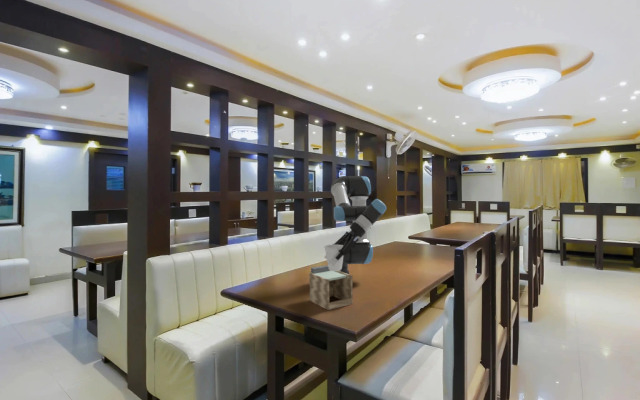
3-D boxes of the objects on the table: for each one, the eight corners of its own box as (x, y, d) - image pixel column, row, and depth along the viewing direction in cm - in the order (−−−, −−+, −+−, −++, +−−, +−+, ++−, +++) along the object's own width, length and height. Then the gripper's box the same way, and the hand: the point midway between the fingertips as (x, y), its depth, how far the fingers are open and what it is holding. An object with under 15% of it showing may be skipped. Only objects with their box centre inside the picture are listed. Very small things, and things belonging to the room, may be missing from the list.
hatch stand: (309, 300, 159) (309, 273, 159) (333, 295, 167) (333, 268, 167) (328, 310, 146) (327, 280, 145) (352, 303, 154) (352, 275, 153)
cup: (345, 266, 154) (345, 244, 153) (345, 272, 144) (345, 248, 143) (325, 266, 154) (325, 244, 154) (323, 272, 144) (323, 248, 144)
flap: (309, 274, 161) (308, 268, 161) (328, 271, 168) (328, 264, 168) (325, 281, 149) (325, 274, 149) (346, 277, 155) (346, 270, 155)
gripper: (374, 235, 140) (340, 273, 138) (358, 228, 162) (328, 261, 160) (362, 224, 139) (328, 261, 137) (348, 218, 161) (318, 251, 158)
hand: (328, 261), depth 148 cm, fingers closed on cup, 9 cm apart
